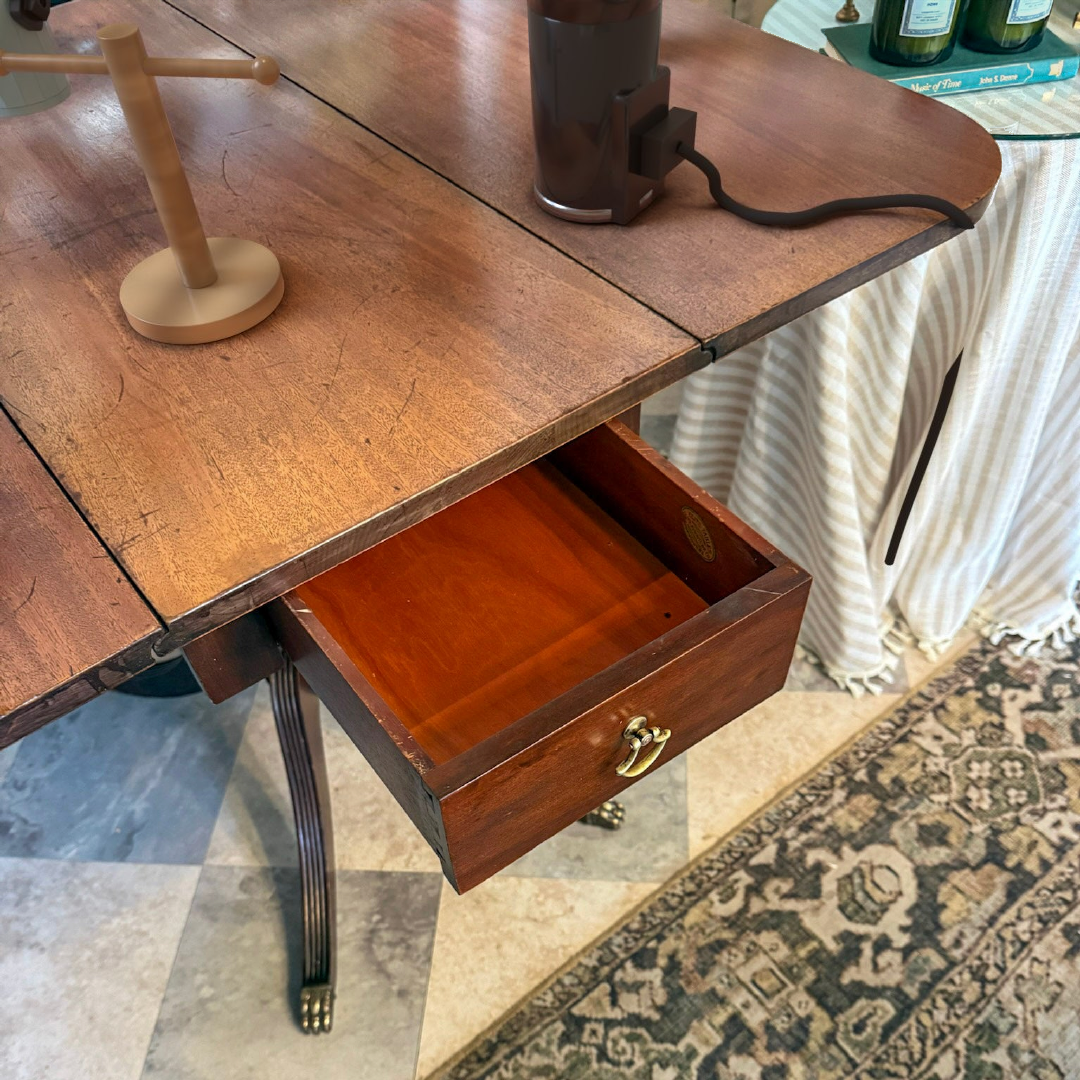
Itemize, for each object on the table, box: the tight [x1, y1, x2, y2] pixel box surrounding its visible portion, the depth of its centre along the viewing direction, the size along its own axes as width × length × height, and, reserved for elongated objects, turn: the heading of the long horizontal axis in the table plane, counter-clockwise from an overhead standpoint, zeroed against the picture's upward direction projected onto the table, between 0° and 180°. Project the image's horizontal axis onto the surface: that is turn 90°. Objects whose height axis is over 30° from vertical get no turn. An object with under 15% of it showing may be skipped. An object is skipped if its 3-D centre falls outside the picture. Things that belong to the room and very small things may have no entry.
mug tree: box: [0, 22, 285, 345], centre depth 64 cm, size 19×11×18 cm, turn 81°
